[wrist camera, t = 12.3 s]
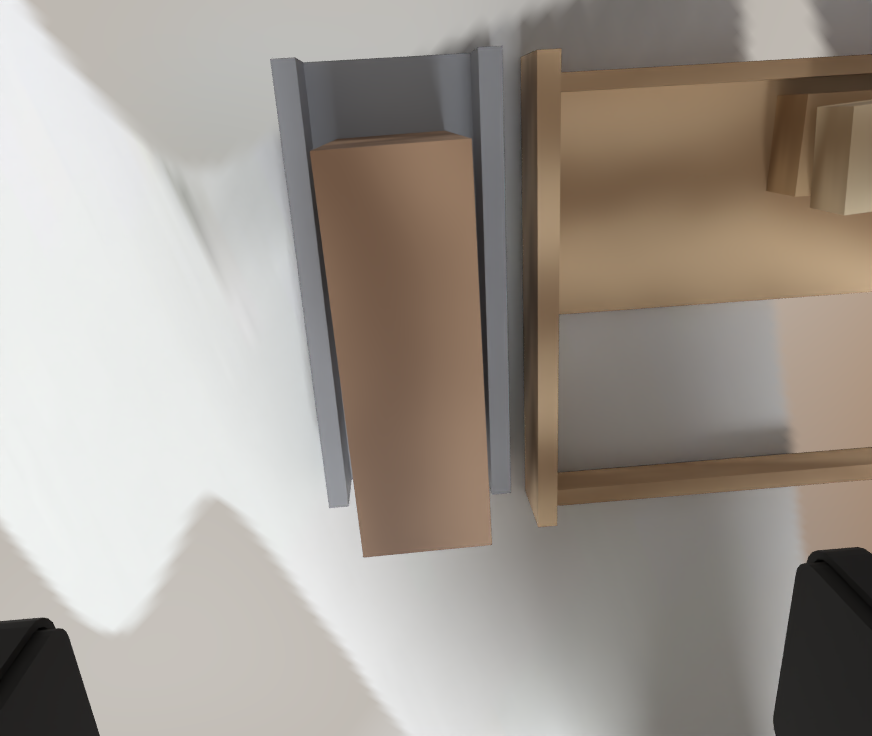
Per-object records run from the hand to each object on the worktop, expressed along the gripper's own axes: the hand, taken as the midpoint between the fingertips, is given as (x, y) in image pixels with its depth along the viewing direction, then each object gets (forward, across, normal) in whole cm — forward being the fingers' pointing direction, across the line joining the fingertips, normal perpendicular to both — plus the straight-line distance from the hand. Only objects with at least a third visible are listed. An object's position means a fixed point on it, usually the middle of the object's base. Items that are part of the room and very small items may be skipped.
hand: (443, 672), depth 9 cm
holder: (+20, 0, 0) cm, 20 cm away
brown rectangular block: (+20, 0, 0) cm, 20 cm away
